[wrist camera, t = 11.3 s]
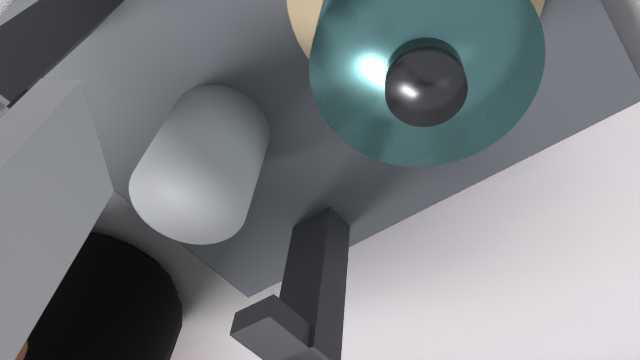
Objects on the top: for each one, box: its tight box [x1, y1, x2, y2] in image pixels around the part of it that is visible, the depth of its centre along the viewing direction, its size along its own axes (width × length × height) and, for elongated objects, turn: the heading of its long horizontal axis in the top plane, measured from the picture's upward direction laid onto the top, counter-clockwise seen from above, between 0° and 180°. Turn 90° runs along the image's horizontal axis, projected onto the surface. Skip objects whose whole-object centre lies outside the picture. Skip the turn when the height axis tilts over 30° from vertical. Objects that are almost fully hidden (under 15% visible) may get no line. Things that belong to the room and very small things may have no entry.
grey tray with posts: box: [0, 0, 640, 360], centre depth 19 cm, size 18×22×9 cm
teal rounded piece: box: [309, 0, 546, 167], centre depth 16 cm, size 11×6×7 cm, turn 179°
